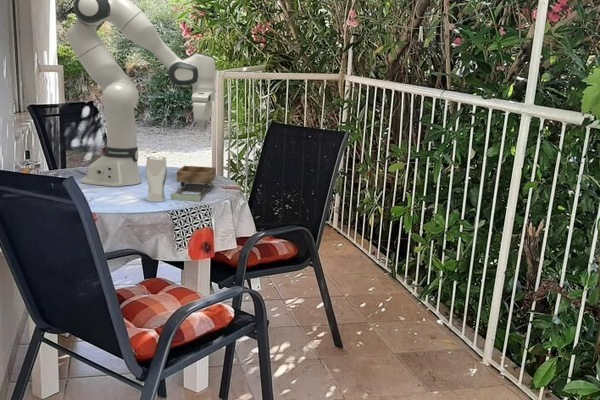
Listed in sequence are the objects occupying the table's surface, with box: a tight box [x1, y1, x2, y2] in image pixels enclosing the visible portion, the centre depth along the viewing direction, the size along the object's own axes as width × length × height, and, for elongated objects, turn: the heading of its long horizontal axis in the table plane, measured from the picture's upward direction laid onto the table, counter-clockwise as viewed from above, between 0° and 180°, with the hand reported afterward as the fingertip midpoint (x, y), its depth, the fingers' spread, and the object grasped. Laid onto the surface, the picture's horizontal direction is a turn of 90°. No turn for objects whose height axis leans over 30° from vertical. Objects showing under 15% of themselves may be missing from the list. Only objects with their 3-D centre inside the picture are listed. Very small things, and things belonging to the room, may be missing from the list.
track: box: [170, 182, 214, 202], centre depth 228 cm, size 11×27×2 cm, turn 178°
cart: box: [176, 165, 217, 188], centre depth 233 cm, size 13×13×6 cm
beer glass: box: [145, 155, 167, 203], centre depth 212 cm, size 7×7×15 cm
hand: (203, 130), depth 241 cm, fingers open, 5 cm apart
